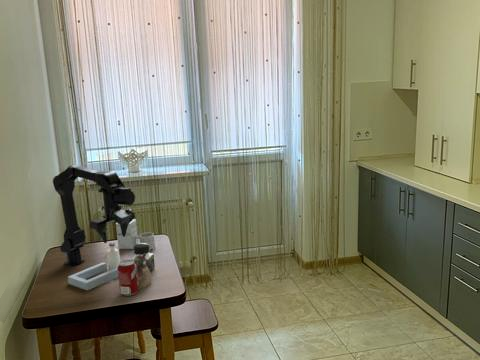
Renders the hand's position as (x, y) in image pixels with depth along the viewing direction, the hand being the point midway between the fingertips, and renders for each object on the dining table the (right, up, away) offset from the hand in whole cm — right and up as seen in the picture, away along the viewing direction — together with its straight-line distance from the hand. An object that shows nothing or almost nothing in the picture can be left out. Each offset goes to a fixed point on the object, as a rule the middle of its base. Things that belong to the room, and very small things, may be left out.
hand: (114, 239), depth 197 cm
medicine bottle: (+12, -13, -1) cm, 18 cm away
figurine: (+14, -16, -12) cm, 24 cm away
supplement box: (-1, -7, +31) cm, 32 cm away
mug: (+7, -8, +28) cm, 29 cm away
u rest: (-6, -15, -5) cm, 17 cm away
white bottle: (0, -13, +2) cm, 13 cm away
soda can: (+11, -17, -19) cm, 28 cm away
